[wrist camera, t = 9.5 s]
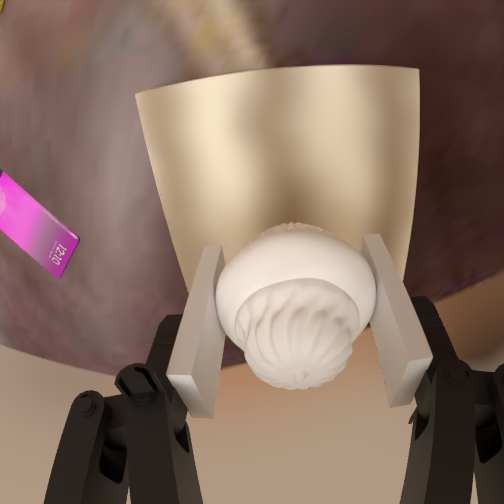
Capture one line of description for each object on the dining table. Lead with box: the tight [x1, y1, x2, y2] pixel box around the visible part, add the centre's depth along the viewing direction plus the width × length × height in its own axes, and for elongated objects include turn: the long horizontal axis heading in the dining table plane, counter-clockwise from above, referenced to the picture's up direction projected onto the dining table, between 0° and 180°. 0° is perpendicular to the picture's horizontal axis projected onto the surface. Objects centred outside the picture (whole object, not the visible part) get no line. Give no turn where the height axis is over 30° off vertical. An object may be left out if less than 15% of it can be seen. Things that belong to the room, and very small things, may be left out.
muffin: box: [215, 222, 376, 390], centre depth 12 cm, size 6×6×7 cm
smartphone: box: [0, 169, 80, 279], centre depth 26 cm, size 7×15×1 cm, turn 47°
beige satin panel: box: [135, 64, 420, 294], centre depth 21 cm, size 16×16×4 cm
